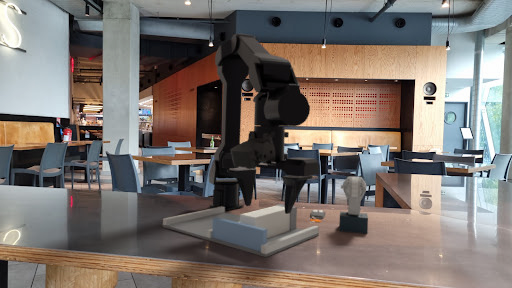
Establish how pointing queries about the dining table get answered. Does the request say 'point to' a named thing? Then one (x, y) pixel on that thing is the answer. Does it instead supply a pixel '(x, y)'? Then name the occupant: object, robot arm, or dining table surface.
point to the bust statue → (354, 206)
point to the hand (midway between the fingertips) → (267, 209)
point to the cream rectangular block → (271, 219)
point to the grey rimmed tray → (236, 231)
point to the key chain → (317, 215)
